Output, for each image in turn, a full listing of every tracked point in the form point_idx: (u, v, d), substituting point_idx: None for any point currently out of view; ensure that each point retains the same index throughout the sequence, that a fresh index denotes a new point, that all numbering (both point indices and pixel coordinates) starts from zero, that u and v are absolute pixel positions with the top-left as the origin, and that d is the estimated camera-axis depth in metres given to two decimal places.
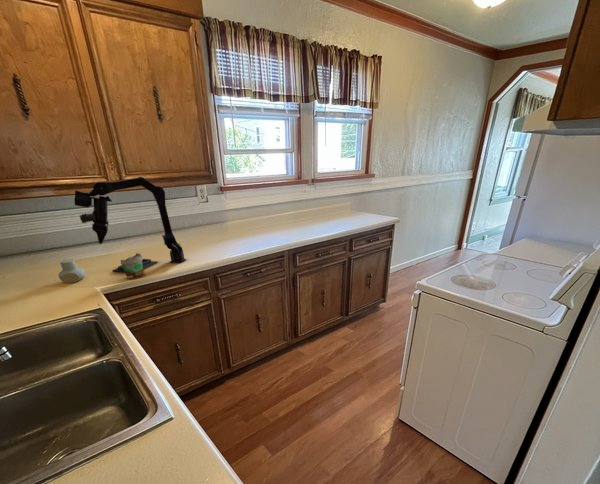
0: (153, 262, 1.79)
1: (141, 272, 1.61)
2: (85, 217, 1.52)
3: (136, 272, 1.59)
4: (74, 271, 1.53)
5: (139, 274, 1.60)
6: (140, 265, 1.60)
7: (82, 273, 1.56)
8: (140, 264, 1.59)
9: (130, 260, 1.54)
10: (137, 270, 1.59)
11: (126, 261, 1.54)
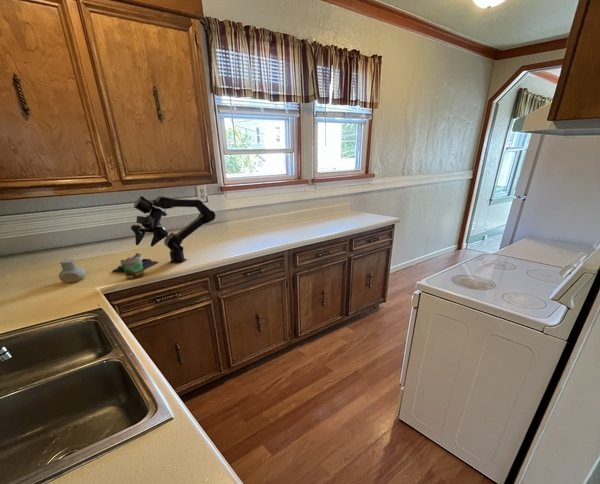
0: (153, 262, 1.79)
1: (141, 272, 1.61)
2: (150, 219, 1.59)
3: (136, 272, 1.59)
4: (74, 271, 1.53)
5: (139, 274, 1.60)
6: (140, 265, 1.60)
7: (82, 273, 1.56)
8: (140, 264, 1.59)
9: (130, 260, 1.54)
10: (137, 270, 1.59)
11: (126, 261, 1.54)
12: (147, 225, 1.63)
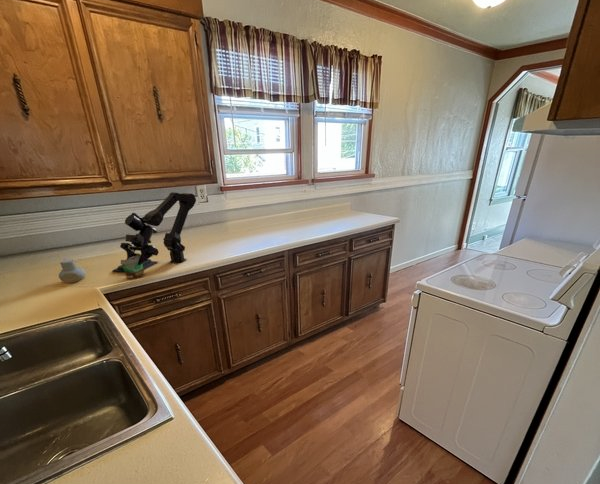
0: (153, 262, 1.79)
1: (141, 272, 1.61)
2: (140, 237, 1.54)
3: (136, 272, 1.59)
4: (74, 271, 1.53)
5: (139, 274, 1.60)
6: (140, 265, 1.60)
7: (82, 273, 1.56)
8: None
9: (130, 260, 1.54)
10: (137, 270, 1.59)
11: (126, 261, 1.54)
12: (137, 243, 1.58)
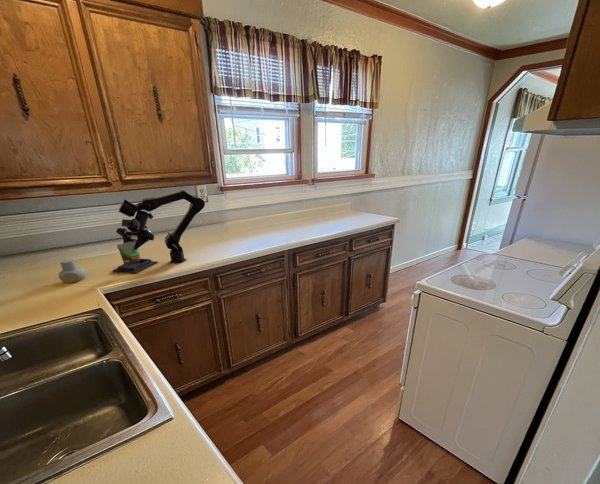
0: (153, 262, 1.79)
1: (137, 257, 1.64)
2: (136, 222, 1.58)
3: (133, 257, 1.62)
4: (74, 271, 1.53)
5: (135, 259, 1.63)
6: (137, 249, 1.63)
7: (82, 273, 1.56)
8: None
9: (126, 244, 1.57)
10: (133, 255, 1.62)
11: (122, 245, 1.57)
12: (133, 228, 1.61)
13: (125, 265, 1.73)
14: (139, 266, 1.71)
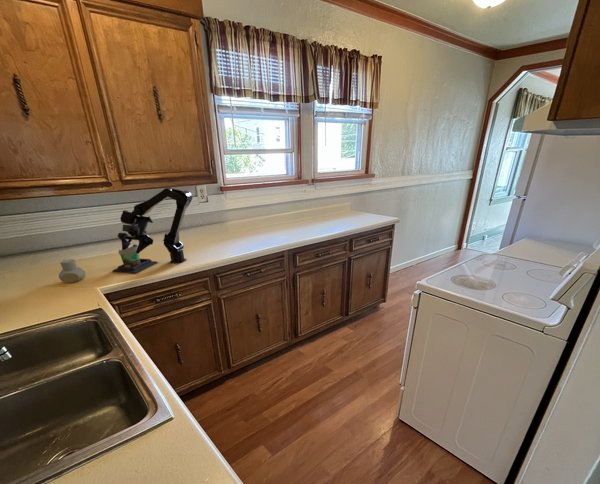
0: (153, 262, 1.79)
1: (138, 262, 1.73)
2: (136, 227, 1.66)
3: (133, 262, 1.71)
4: (74, 271, 1.53)
5: (136, 263, 1.72)
6: (137, 255, 1.72)
7: (82, 273, 1.56)
8: (137, 254, 1.72)
9: (127, 250, 1.67)
10: (134, 260, 1.71)
11: (124, 251, 1.66)
12: (133, 233, 1.70)
13: None
14: (139, 266, 1.71)
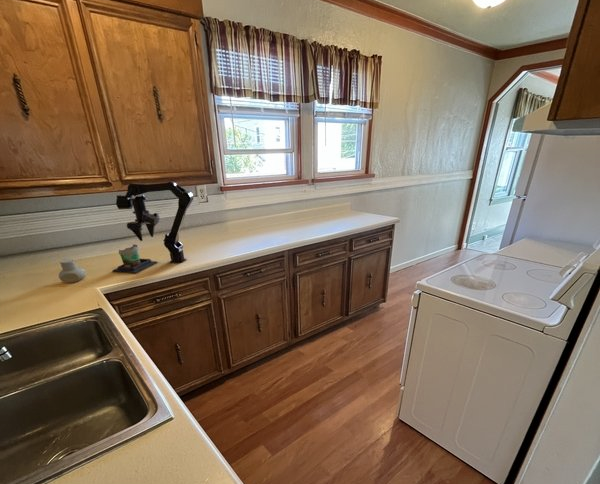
0: (153, 262, 1.79)
1: (138, 262, 1.73)
2: None
3: (133, 262, 1.71)
4: (74, 271, 1.53)
5: (136, 263, 1.72)
6: (137, 255, 1.72)
7: (82, 273, 1.56)
8: (137, 254, 1.72)
9: (127, 250, 1.67)
10: (134, 260, 1.71)
11: (124, 251, 1.66)
12: None
13: None
14: (139, 266, 1.71)
